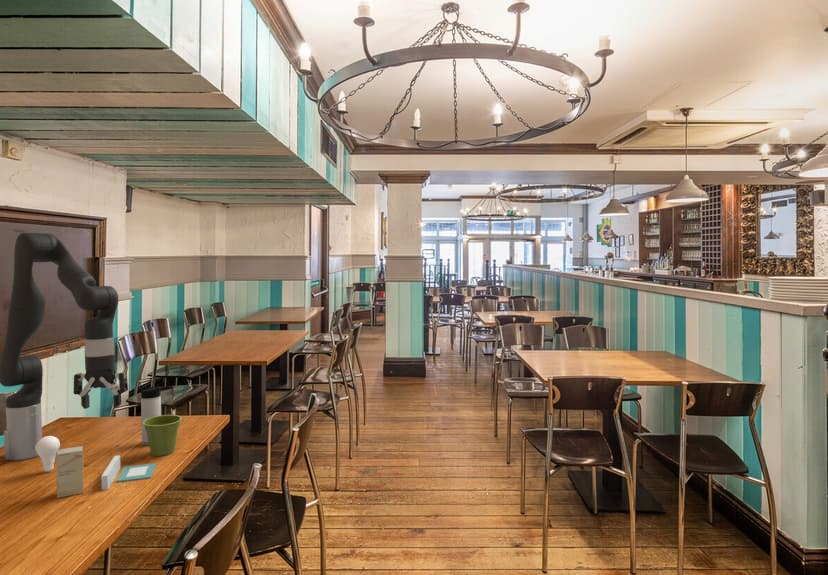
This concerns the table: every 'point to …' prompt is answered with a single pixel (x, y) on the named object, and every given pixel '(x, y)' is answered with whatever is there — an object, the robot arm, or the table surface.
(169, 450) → the plant pot
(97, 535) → the table surface
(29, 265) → the robot arm
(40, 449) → the lightbulb
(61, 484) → the skincare box
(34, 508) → the table surface
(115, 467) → the divider wall
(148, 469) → the resting pad
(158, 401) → the travel mug
